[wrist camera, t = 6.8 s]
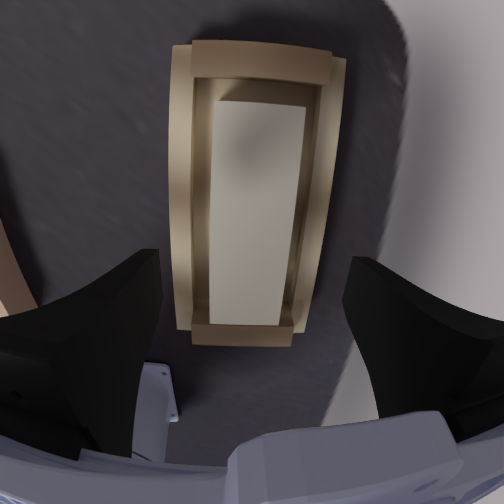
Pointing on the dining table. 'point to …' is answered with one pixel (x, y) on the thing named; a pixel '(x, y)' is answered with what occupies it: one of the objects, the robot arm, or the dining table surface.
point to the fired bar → (12, 282)
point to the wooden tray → (199, 170)
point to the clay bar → (252, 208)
